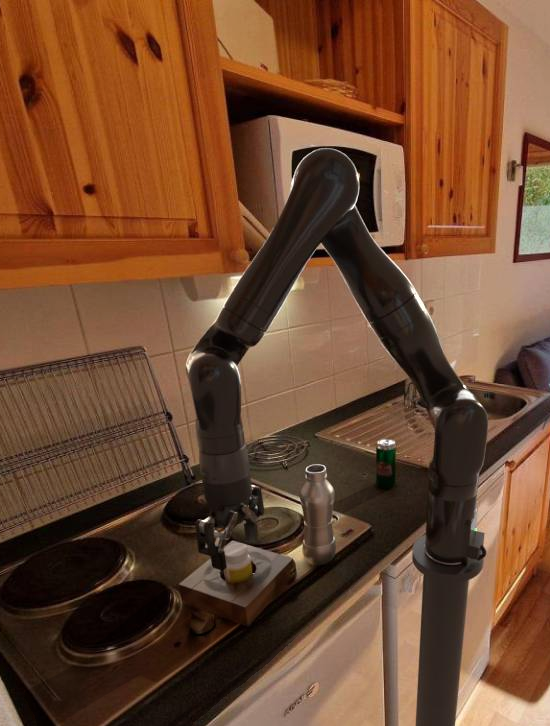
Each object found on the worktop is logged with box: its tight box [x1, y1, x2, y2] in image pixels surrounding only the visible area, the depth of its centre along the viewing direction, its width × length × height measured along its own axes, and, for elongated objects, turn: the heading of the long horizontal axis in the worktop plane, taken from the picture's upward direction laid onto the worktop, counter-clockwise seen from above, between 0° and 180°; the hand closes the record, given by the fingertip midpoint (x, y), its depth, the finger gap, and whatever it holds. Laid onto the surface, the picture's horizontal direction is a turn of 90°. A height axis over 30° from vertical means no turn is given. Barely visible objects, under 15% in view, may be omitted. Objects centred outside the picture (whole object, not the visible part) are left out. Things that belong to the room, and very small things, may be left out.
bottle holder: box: [178, 540, 295, 627], centre depth 86 cm, size 14×14×4 cm
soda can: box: [375, 438, 397, 490], centre depth 121 cm, size 5×5×12 cm
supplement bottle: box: [224, 542, 253, 582], centre depth 85 cm, size 5×5×8 cm
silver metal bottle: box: [299, 463, 337, 566], centre depth 91 cm, size 6×7×20 cm
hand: (237, 554), depth 84 cm, fingers open, 8 cm apart
